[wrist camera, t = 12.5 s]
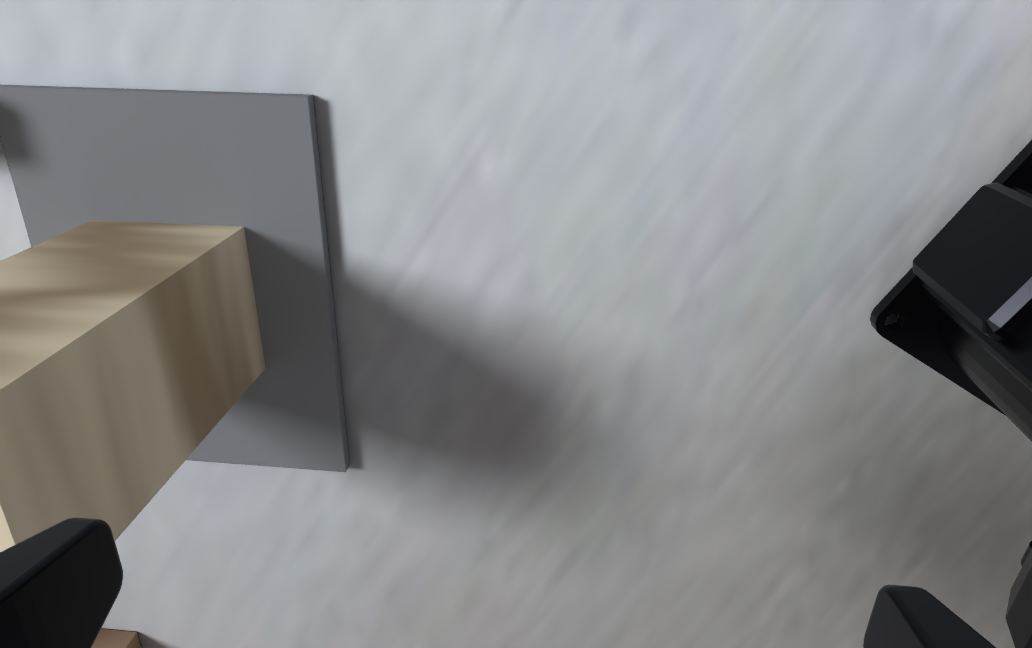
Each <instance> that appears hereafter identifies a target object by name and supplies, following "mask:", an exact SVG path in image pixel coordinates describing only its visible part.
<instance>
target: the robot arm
mask: <svg viewBox="0 0 1032 648" xmlns="http://www.w3.org/2000/svg"><path fill="white" fill-rule="evenodd" d="M892 314H899V317H898V319H897V321H896V322H894V323H893V324H889V325H886V324H885V320H886V319H887V317H889V316H890V315H892ZM870 321H871V324H872V326H873V327H874V329H875V330H876V331H877V332H878V333H879V334H880V335H881V336H882V337H884V338H885V339H887V340H888V341H890V342H892V343H893V344H895V345H896V346H898V347H899V348H901V349H902V350H904V351H906V352H907V353H909V354H910V355H912V356H913V357H915V358H917V359H918V360H920V361H921V362H923V363H924V364H926V365H927V366H929V367H931V368H932V369H934V370H935V371H937V372H938V373H940V374H942V375H943V376H945V377H946V378H948V379H949V380H951V381H952V382H954V383H956V384H957V385H959V386H960V387H962V388H963V389H965V390H966V391H968V392H970V393H971V394H973V395H974V396H976V397H977V398H979V399H981V400H982V401H984V402H985V403H987V404H988V405H990V406H991V407H993V408H995V409H996V410H998V411H999V412H1001V413H1002V414H1004V415H1006V416H1007V417H1008V418H1009V419H1010V420H1011V421H1012V422H1013V423H1014V424H1015V425H1016V426H1017V427H1018V428H1019V429H1020V430H1021V431H1022V432H1023V433H1024V434H1025V435H1026V436H1027V437H1028V438H1029V439H1030V440H1031V441H1032V140H1031V141H1030V142H1029V143H1028V144H1027V145H1026V147H1025V148H1024V149H1023V150H1022V151H1021V152H1020V153H1019V154H1018V155H1017V156H1016V157H1015V158H1014V159H1013V160H1012V161H1011V163H1010V164H1009V165H1008V166H1007V167H1006V168H1005V169H1004V170H1003V171H1002V172H1001V173H1000V174H999V175H998V176H997V178H996V179H995V180H994V181H993V182H992V183H991V184H988V185H984V186H982V187H981V188H980V189H979V190H978V191H977V192H976V193H975V194H974V195H973V197H972V198H971V199H970V200H969V201H968V202H967V203H966V204H965V205H964V206H963V207H962V208H961V209H960V210H959V212H958V213H957V214H956V215H955V216H954V217H953V218H952V219H951V220H950V221H949V222H948V223H947V224H946V226H945V227H944V228H943V229H942V230H941V231H940V232H939V233H938V234H937V235H936V236H935V237H934V238H933V239H932V241H931V242H930V243H929V244H928V245H927V246H926V247H925V248H924V249H923V250H922V251H921V252H920V253H919V254H918V256H917V257H916V258H915V259H914V260H913V267H912V268H911V269H910V270H909V272H908V273H907V274H906V275H905V276H904V277H903V278H902V279H901V280H900V281H899V282H898V283H897V284H896V285H895V287H894V288H893V289H892V290H891V291H890V292H889V293H888V294H887V295H886V296H885V297H884V298H883V299H882V300H881V301H880V303H879V304H878V305H877V306H876V307H875V308H874V310H873V311H872V313H871V317H870ZM1021 565H1022V568H1021V570H1020V572H1019V574H1018V576H1017V578H1016V580H1015V582H1014V584H1013V586H1012V588H1011V592H1010V598H1009V603H1008V608H1007V613H1006V621H1007V624H1008V627H1009V630H1010V633H1011V636H1012V639H1013V642H1014V645H1015V648H1032V541H1031V542H1030V543H1029V545H1028V547H1027V549H1026V551H1025V553H1024V555H1023V557H1022V559H1021ZM122 580H123V570H122V565H121V562H120V558H119V555H118V551H117V548H116V544H115V541H114V537H113V534H112V530H111V528H110V526H109V525H108V524H107V523H106V522H105V521H103V520H100V519H90V518H69V519H66V520H64V521H62V522H60V523H58V524H56V525H54V526H52V527H50V528H48V529H46V530H44V531H42V532H40V533H38V534H36V535H34V536H32V537H30V538H28V539H26V540H24V541H22V542H20V543H18V544H16V545H14V546H12V547H10V548H8V549H6V550H4V551H2V552H0V648H91V647H92V645H93V643H94V641H95V639H96V637H97V635H98V633H99V631H100V629H101V627H102V625H103V624H104V622H105V620H106V618H107V616H108V614H109V612H110V610H111V608H112V606H113V604H114V602H115V600H116V598H117V596H118V594H119V591H120V589H121V585H122ZM863 648H996V647H995V646H993V645H992V644H991V643H990V642H989V641H987V640H986V639H985V638H984V637H982V636H981V635H980V634H979V633H978V632H976V631H975V630H974V629H973V628H972V627H970V626H969V625H968V624H967V623H965V622H964V621H963V620H962V619H961V618H959V617H958V616H957V615H956V614H955V613H953V612H952V611H951V610H950V609H948V608H947V607H946V606H945V605H944V604H942V603H941V602H940V601H939V600H938V599H936V598H935V597H934V596H933V595H931V594H930V593H929V592H927V591H926V590H924V589H922V588H918V587H911V586H899V585H886V586H883V587H882V588H881V589H880V590H879V592H878V594H877V597H876V601H875V604H874V607H873V610H872V613H871V617H870V620H869V623H868V626H867V629H866V633H865V637H864V644H863Z"/></svg>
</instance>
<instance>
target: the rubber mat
mask: <svg viewBox="0 0 1032 648" xmlns="http://www.w3.org/2000/svg"><path fill="white" fill-rule="evenodd" d="M0 137H1V141H2V145H3V148H4V152H5V155H6V159H7V162H8V166H9V169H10V173H11V176H12V180H13V183H14V187H15V191H16V194H17V198H18V201H19V205H20V208H21V212H22V215H23V219H24V222H25V226H26V229H27V233H28V237H29V240H30V244H31V247H33V246H35V245H37V244H40V243H42V242H44V241H46V240H49V239H51V238H53V237H55V236H57V235H60V234H62V233H64V232H66V231H68V230H71V229H73V228H75V227H77V226H79V225H82V224H84V223H86V222H88V221H91V220H103V221H126V222H149V223H172V224H194V225H217V226H240V227H244V230H245V237H246V243H247V250H248V256H249V263H250V269H251V276H252V283H253V289H254V296H255V302H256V309H257V315H258V322H259V329H260V335H261V342H262V348H263V355H264V361H265V370H264V371H263V372H262V373H261V374H260V375H259V376H258V378H257V379H256V380H255V381H254V382H253V383H252V384H251V386H250V387H249V388H248V389H247V390H246V391H245V392H244V394H243V395H242V396H241V397H240V398H239V399H238V401H237V402H236V403H235V404H234V405H233V406H232V407H231V409H230V410H229V411H228V412H227V413H226V414H225V415H224V417H223V418H222V419H221V420H220V421H219V422H218V423H217V425H216V426H215V427H214V428H213V429H212V430H211V431H210V433H209V434H208V435H207V436H206V437H205V438H204V440H203V441H202V442H201V443H200V444H199V445H198V446H197V448H196V449H195V450H194V451H193V452H192V453H191V454H190V456H189V457H188V458H187V459H186V460H192V461H205V462H219V463H232V464H245V465H258V466H272V467H285V468H298V469H312V470H325V471H338V472H346V471H347V469H348V467H349V455H348V445H347V435H346V425H345V414H344V404H343V394H342V384H341V374H340V364H339V353H338V343H337V333H336V323H335V313H334V303H333V292H332V282H331V272H330V262H329V252H328V242H327V231H326V221H325V211H324V201H323V191H322V181H321V170H320V160H319V150H318V140H317V130H316V120H315V109H314V99H313V95H304V94H272V93H241V92H209V91H178V90H146V89H115V88H83V87H52V86H20V85H0Z"/></svg>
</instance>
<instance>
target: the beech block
mask: <svg viewBox="0 0 1032 648" xmlns="http://www.w3.org/2000/svg"><path fill="white" fill-rule="evenodd" d="M264 370H265V361H264V355H263V348H262V342H261V335H260V329H259V322H258V315H257V309H256V302H255V296H254V289H253V283H252V276H251V269H250V263H249V256H248V250H247V243H246V237H245V230H244V227H240V226H217V225H194V224H172V223H149V222H126V221H103V220H91V221H88V222H86V223H84V224H82V225H79V226H77V227H75V228H73V229H71V230H68V231H66V232H64V233H62V234H60V235H57V236H55V237H53V238H51V239H49V240H46V241H44V242H42V243H40V244H37V245H35V246H33V247H31V248H29V249H26V250H24V251H22V252H20V253H18V254H15V255H13V256H11V257H9V258H7V259H4V260H2V261H0V552H2V551H4V550H6V549H8V548H10V547H12V546H14V545H16V544H18V543H20V542H22V541H24V540H26V539H28V538H30V537H32V536H34V535H36V534H38V533H40V532H42V531H44V530H46V529H48V528H50V527H52V526H54V525H56V524H58V523H60V522H62V521H64V520H66V519H69V518H90V519H100V520H103V521H105V522H106V523H107V524H108V525H109V526H110V528H111V530H112V534H113V537H114V541H115V540H116V539H117V538H118V537H119V536H120V535H121V534H122V532H123V531H124V530H125V529H126V528H127V527H128V526H129V524H130V523H131V522H132V521H133V520H134V519H135V517H136V516H137V515H138V514H139V513H140V512H141V511H142V509H143V508H144V507H145V506H146V505H147V504H148V503H149V501H150V500H151V499H152V498H153V497H154V496H155V495H156V493H157V492H158V491H159V490H160V489H161V488H162V487H163V485H164V484H165V483H166V482H167V481H168V480H169V478H170V477H171V476H172V475H173V474H174V473H175V472H176V470H177V469H178V468H179V467H180V466H181V465H182V464H183V462H184V461H185V460H186V459H187V458H188V457H189V456H190V454H191V453H192V452H193V451H194V450H195V449H196V448H197V446H198V445H199V444H200V443H201V442H202V441H203V440H204V438H205V437H206V436H207V435H208V434H209V433H210V431H211V430H212V429H213V428H214V427H215V426H216V425H217V423H218V422H219V421H220V420H221V419H222V418H223V417H224V415H225V414H226V413H227V412H228V411H229V410H230V409H231V407H232V406H233V405H234V404H235V403H236V402H237V401H238V399H239V398H240V397H241V396H242V395H243V394H244V392H245V391H246V390H247V389H248V388H249V387H250V386H251V384H252V383H253V382H254V381H255V380H256V379H257V378H258V376H259V375H260V374H261V373H262V372H263V371H264Z"/></svg>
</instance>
